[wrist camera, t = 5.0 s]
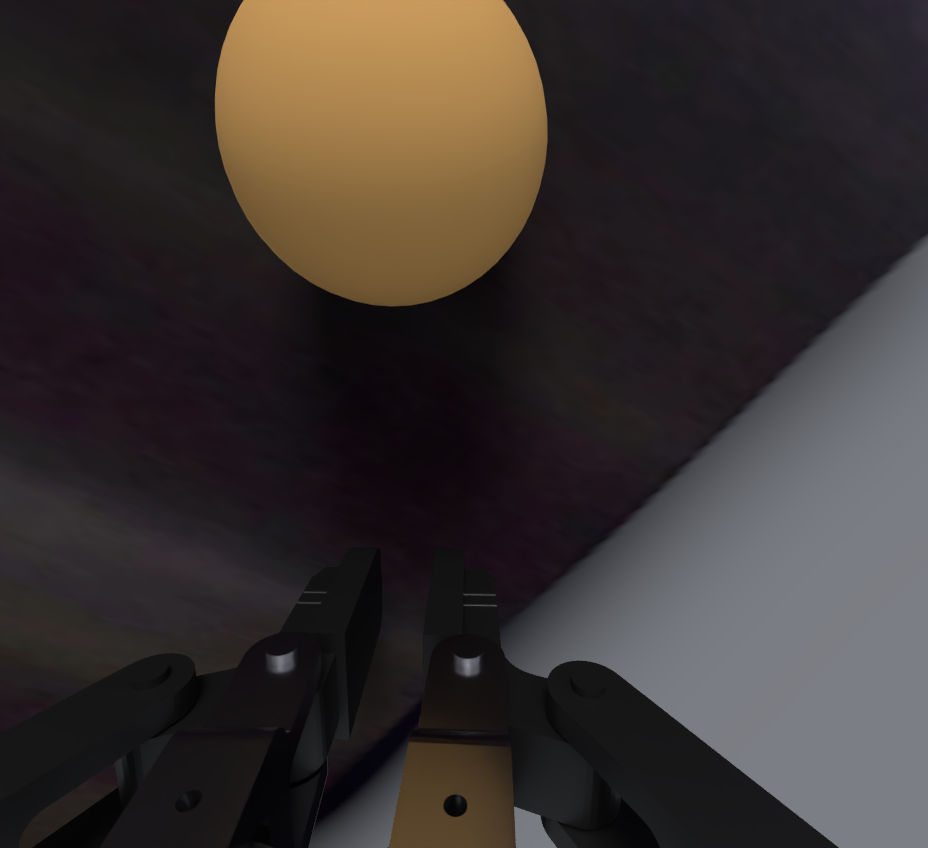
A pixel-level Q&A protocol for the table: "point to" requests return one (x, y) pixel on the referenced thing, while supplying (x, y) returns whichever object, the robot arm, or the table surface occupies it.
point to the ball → (382, 139)
